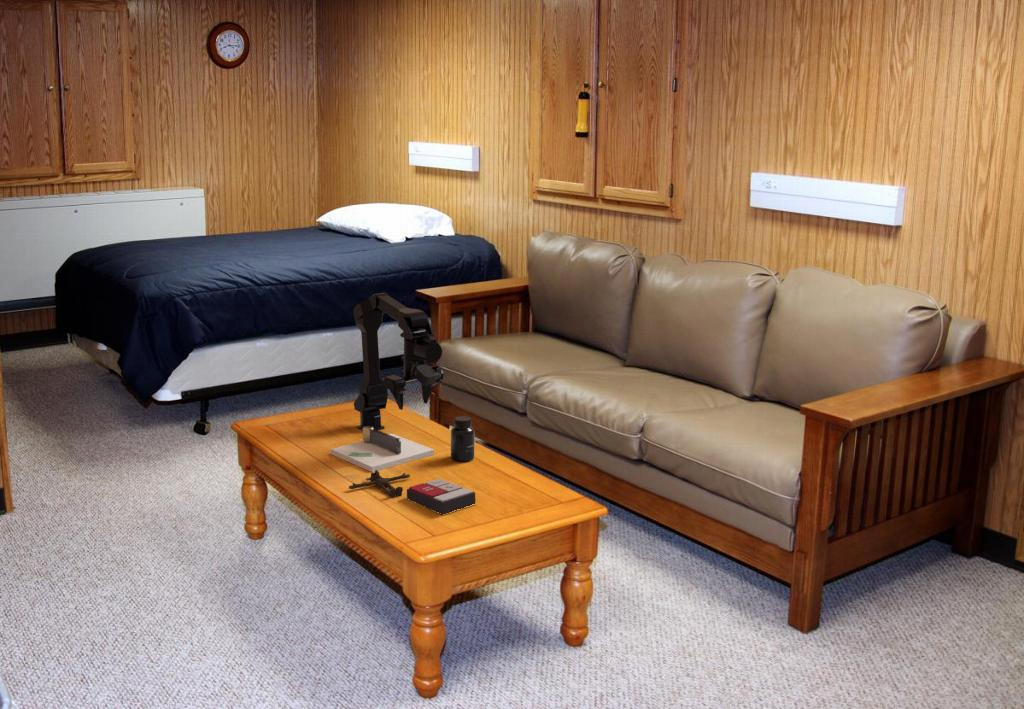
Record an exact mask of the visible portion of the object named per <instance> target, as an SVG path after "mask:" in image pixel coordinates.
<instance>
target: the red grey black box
mask: <svg viewBox="0 0 1024 709" xmlns="http://www.w3.org/2000/svg"><path fill="white" fill-rule="evenodd" d="M406 499H407V500H408V499H409V501H411V502H413V503H415V502H416V503H415V504H417V503H418V505H419V504H420V505H419V506H421V505H422V506H421V507H424V506H425V507H424V508H427V509H429V508H430V509H429V510H431V509H432V510H434V511H436V512H439V513H441V514H446V513H449V512H452V511H454V510H457V509H461V508H464V507H466V506H470V505H472V504H475V503H476V492H475V491H473V490H471V489H468V488H466V487H463V486H461V485H459V484H456V483H453V482H450V481H447V480H444V479H442V478H437V479H433V480H429V481H426V482H425V483H424V482H423V483H418V484H416V485H412V486H409V487H408V488H406ZM434 511H433V512H434ZM436 512H435V513H436ZM452 513H453V512H452ZM441 514H440V515H441ZM449 514H450V513H449ZM446 515H447V514H446Z"/></svg>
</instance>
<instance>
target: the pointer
mask: <svg viewBox="0 0 1024 709" xmlns="http://www.w3.org/2000/svg"><path fill="white" fill-rule="evenodd" d="M388 434H389V433H386V432H383V431H381V430H376V429H374V427H372V426H365V427H363V430H362V441H363V442H368V443H369V442H370V443H373V444H375V445H378V446H380V447H383V448H385V449H388V450H390V451H393V452H395V453H397V454H399V453H401V439H400V438H396V437H394V436H391V435H388Z"/></svg>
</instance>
